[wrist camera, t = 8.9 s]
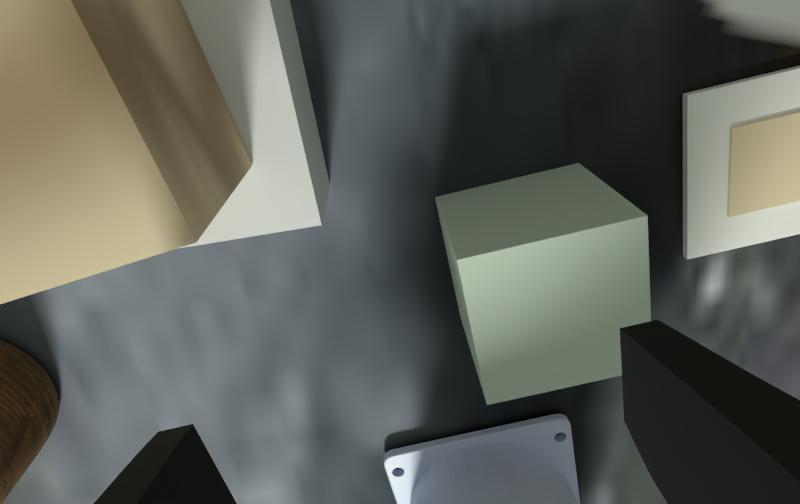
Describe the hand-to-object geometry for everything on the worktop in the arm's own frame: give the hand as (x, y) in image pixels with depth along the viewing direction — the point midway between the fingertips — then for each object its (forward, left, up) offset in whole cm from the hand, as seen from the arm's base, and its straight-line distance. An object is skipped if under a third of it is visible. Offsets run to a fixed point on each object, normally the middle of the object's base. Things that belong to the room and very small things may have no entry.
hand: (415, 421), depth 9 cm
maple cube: (+6, +6, -7) cm, 11 cm away
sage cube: (-3, -4, -11) cm, 12 cm away
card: (-2, -13, -10) cm, 17 cm away
